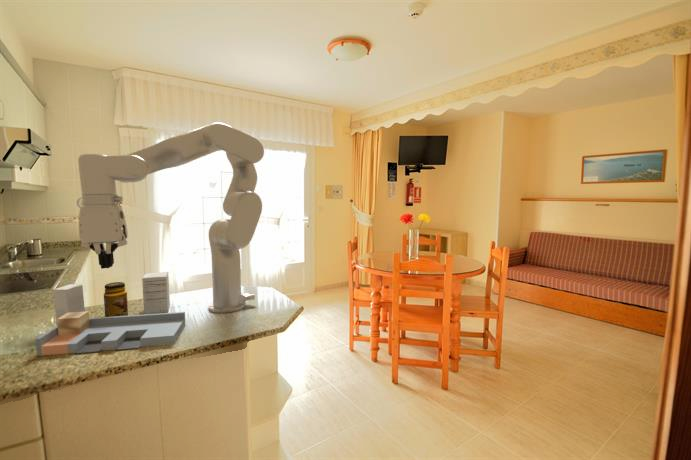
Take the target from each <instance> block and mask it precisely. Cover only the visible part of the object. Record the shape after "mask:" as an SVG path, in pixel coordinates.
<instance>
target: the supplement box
mask: <svg viewBox="0 0 691 460" xmlns="http://www.w3.org/2000/svg"><path fill="white" fill-rule="evenodd" d="M141 278H142V279H141V281H142V283H141V284H142V299H143V300H142V301H143V312H144V313H143V315H144V314H159V313H169V310H170V307H171V303H170V302H171V299H170V283H169V281H170V280H169V279H170V278H169V272H168V271H161V272H148V273H145V274H144V275H143V276H142V277H141Z"/></svg>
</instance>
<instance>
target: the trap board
mask: <svg viewBox="0 0 691 460" xmlns="http://www.w3.org/2000/svg"><path fill="white" fill-rule="evenodd" d="M89 324H90V327H88V328H87V329H86V330H84V331H83V332H82V333H80V334H70V335H58V325H55V326H54V327H52V328H50V329H49V330H48V331H46V332H44V333H43V334H41V335H39V336H38V337H36V338H35V348H36V357H39V356H40V357H41V356H42V357H43V356H50V355H52V356H53V355H63V354H74V355H84V354H93V353H101V352H102V351H110V350H115V352H118V351H128V350H139V349H141V348H143V347H154V346H155V347H156V346H165V345H166V346H167V345H175V343H176V342H177V340H178V338H179V337H180V335H181V333H182V332H183V330H184V329H185V327H186V312H185V311H178V312H177V311H175V312H163V313H154V314H144V313H143V314H131V315H129V316H113V317H105V316H104V317H103V316H101V317H89Z"/></svg>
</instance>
